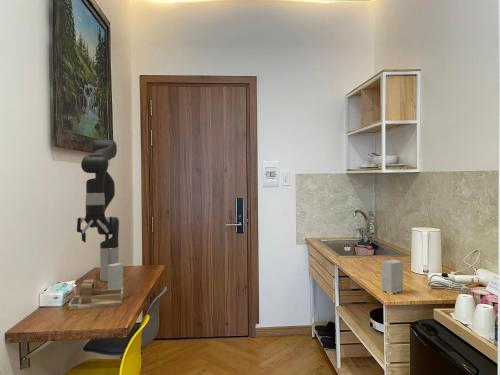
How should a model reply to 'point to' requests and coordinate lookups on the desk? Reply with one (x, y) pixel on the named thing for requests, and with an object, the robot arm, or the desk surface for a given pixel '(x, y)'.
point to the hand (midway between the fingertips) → (95, 241)
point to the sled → (96, 289)
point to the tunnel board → (95, 297)
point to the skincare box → (115, 276)
